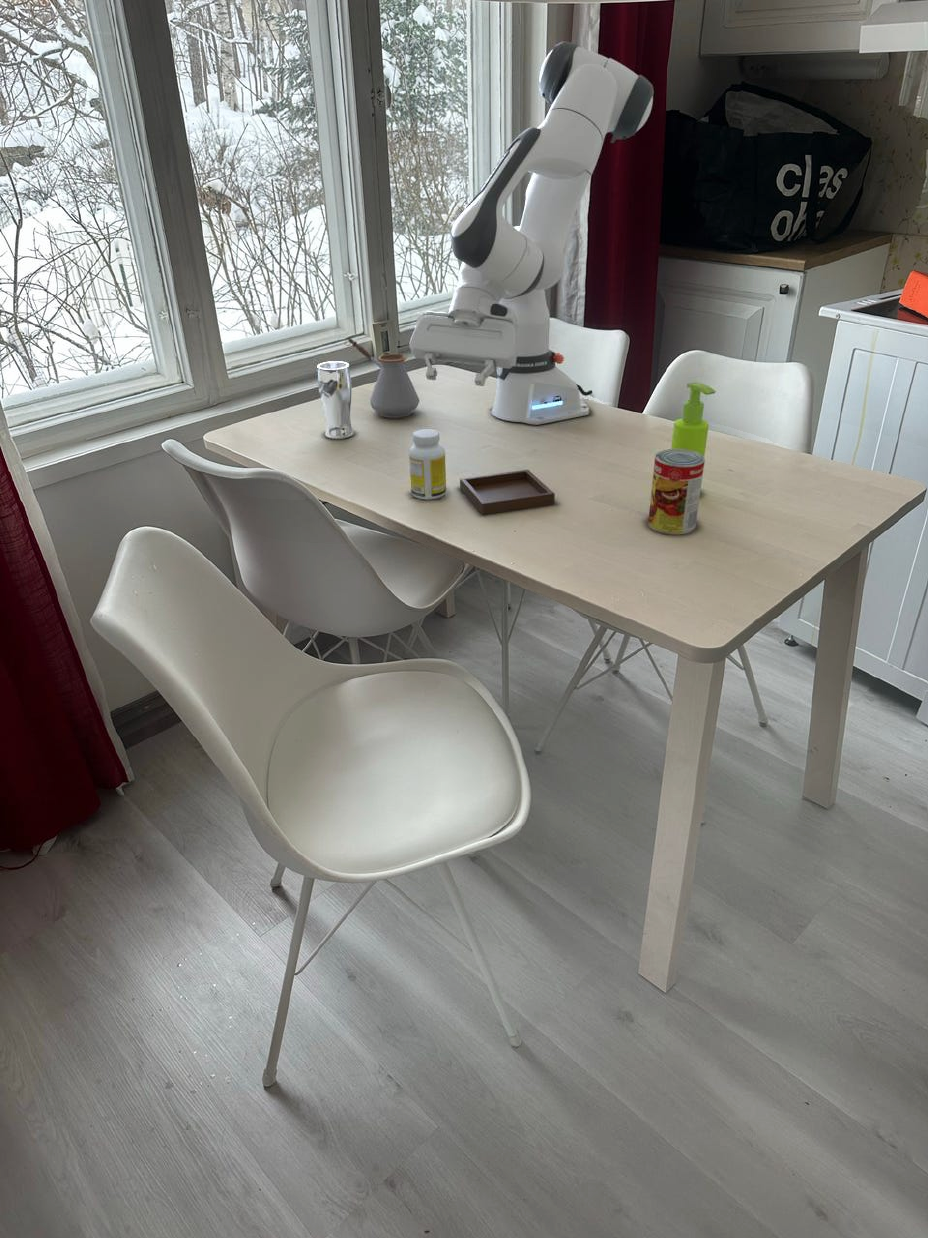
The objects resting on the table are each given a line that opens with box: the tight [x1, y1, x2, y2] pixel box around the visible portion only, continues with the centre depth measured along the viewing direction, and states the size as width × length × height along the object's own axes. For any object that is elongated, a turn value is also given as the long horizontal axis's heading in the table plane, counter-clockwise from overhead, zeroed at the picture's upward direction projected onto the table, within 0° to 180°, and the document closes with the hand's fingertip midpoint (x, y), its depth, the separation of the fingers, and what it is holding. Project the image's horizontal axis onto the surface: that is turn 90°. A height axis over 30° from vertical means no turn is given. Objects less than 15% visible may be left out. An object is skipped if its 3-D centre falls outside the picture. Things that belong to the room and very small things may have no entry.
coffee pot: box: [344, 337, 420, 419], centre depth 199 cm, size 21×12×15 cm, turn 47°
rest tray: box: [459, 469, 555, 516], centre depth 156 cm, size 14×13×2 cm
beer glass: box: [316, 361, 354, 440], centre depth 184 cm, size 7×7×15 cm
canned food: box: [647, 448, 706, 535], centre depth 142 cm, size 8×8×12 cm
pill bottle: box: [408, 428, 447, 501], centre depth 155 cm, size 6×6×12 cm
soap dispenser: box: [670, 382, 717, 457], centre depth 151 cm, size 6×7×20 cm
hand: (454, 381), depth 158 cm, fingers open, 8 cm apart
